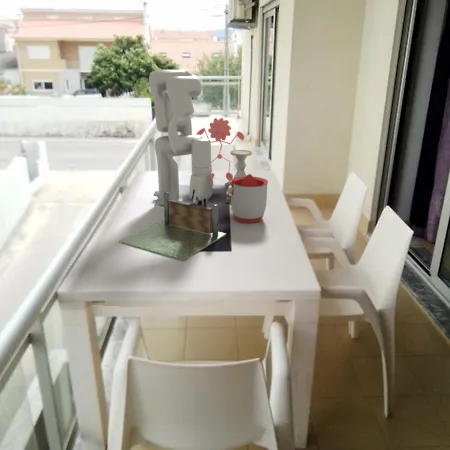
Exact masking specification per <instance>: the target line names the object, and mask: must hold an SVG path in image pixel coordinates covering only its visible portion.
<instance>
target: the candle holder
mask: <svg viewBox="0 0 450 450" xmlns="http://www.w3.org/2000/svg"><path fill="white" fill-rule="evenodd" d="M229 152H230V155H232V156H234V157H235V159H236V161H237V162H236V164H235V167H236V170H237V171H236V173H235V174H234V176H233V179H234V178H237V177H245V176H247V175H248V174H247V173H246V171H245V169H246V167H247V164H246V159H247V157H249V156H252V155H253V152H252V151H250V150H247V149H233V150H231V151H229ZM225 202H226V203H228V204H231V194H227V197H226V198H225Z"/></svg>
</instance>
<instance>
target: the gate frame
mask: <svg viewBox="0 0 450 450" xmlns="http://www.w3.org/2000/svg"><path fill="white" fill-rule="evenodd" d="M163 197H164V206H163V212H164V213H163V215H164V217H163V218H164V220H162V221H159V222H157V223H155V224H152V225H151V226H149V227H145V228H144V229H141V230H140V231H138V232H136V233H133V234H131V235H129V236H126V237H125V238H123V239H120V240H119V243H120V242H121V243H120V244H123V243H124V245H127V244H128V246H130V245H131V247H134V248H136V249H137V248H138V249H140V250H144V251H147V252H148V251H149V252H151V251H152V252H151V253H154V252H155V254H158V255H162V256H165V257H168V258H171V259H175V260H179V261H182V262H184V261H186V260H188V259H189V258H191V257H193V256H194V255H196V254H198V253H199V252H201V251H202V250H204V249H206V248H207V247H209V246H211V245H212V244H214V243H216V241H219V240H220V239H221V238H222V239H223V238H224V237H225V236H227V233H226V232H222V231H221V232H220V231H219V204H217V203H213V204H212V205H211V208H212V233H211V234H208V233H204V232H200V231H196V230H192V229H188V228H183V227H179V226H175V225H171V224H169V203H168V200H170V197H169V192H163Z"/></svg>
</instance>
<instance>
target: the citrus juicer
mask: <svg viewBox="0 0 450 450" xmlns="http://www.w3.org/2000/svg"><path fill="white" fill-rule="evenodd" d="M246 175H247V176H245V177H237V178H234V179H232V180H231V181H230V182H231V183H230V186H231V187H229V188H228V189H226V195H229V194H231V203H230V204H231V210H232V215H233V217H234V219H235V221H237V222H239V223H246V224H247V223H248V224H251V223H254V224H255V223H259V222H260V221H262V219H263V217H264V214H265V212H266V208H267V203H268V202H267V200H268V196H267V195H268V184H269V181H268V180H267V179H265V178H263V177H259V176H253V175H252V174H251V173H249V174H246Z"/></svg>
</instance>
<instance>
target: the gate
mask: <svg viewBox="0 0 450 450" xmlns="http://www.w3.org/2000/svg"><path fill="white" fill-rule="evenodd" d="M168 203H169V224H171V225H175V226H179V227H183V228H188V229H192V230H196V231H200V232H204V233H208V234H211V233H212V207H209V206H207V205H206V206H201V205H197V204H194V203H190V202H187V201H186V202H185V201H183V202H182V201H177V200H172V199H171V200H168Z"/></svg>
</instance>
